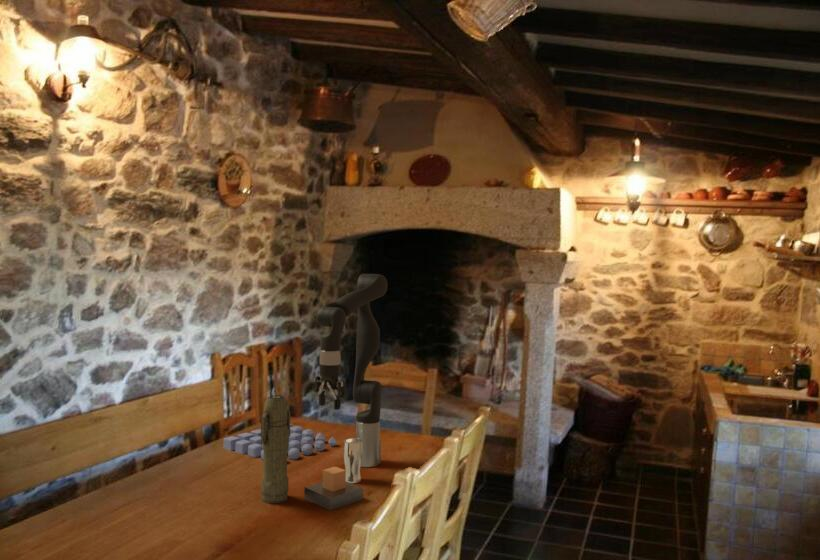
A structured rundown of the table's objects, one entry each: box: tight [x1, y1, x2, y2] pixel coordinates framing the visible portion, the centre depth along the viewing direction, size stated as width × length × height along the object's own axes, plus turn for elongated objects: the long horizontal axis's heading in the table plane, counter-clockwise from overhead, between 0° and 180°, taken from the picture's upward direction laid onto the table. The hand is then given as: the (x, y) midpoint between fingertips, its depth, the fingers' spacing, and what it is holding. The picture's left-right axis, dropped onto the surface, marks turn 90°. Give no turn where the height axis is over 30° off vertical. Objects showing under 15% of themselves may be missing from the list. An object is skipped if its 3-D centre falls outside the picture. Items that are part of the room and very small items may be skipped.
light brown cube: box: [322, 466, 346, 491], centre depth 238 cm, size 6×6×6 cm
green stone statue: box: [260, 394, 291, 504], centre depth 236 cm, size 9×12×35 cm
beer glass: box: [343, 437, 363, 484], centre depth 257 cm, size 7×7×15 cm
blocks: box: [222, 423, 338, 461], centre depth 296 cm, size 35×34×5 cm
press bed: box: [303, 481, 364, 511], centre depth 238 cm, size 14×14×4 cm
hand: (329, 407), depth 251 cm, fingers open, 8 cm apart
